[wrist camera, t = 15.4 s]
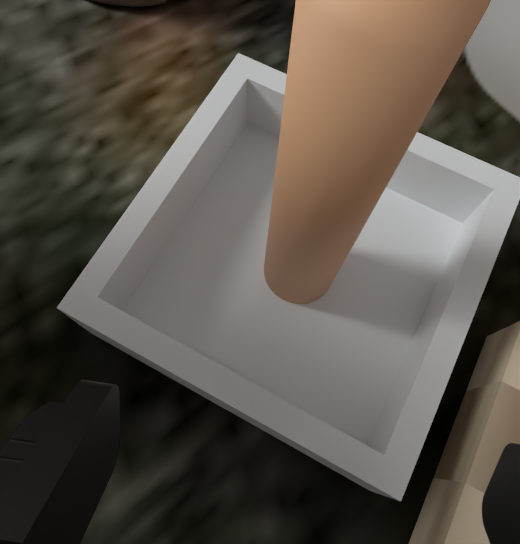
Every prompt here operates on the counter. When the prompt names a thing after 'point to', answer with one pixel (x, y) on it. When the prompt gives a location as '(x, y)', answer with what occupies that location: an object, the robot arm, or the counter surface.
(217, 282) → the tray
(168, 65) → the counter surface
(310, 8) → the dowel
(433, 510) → the dowel holder
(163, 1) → the plant pot
